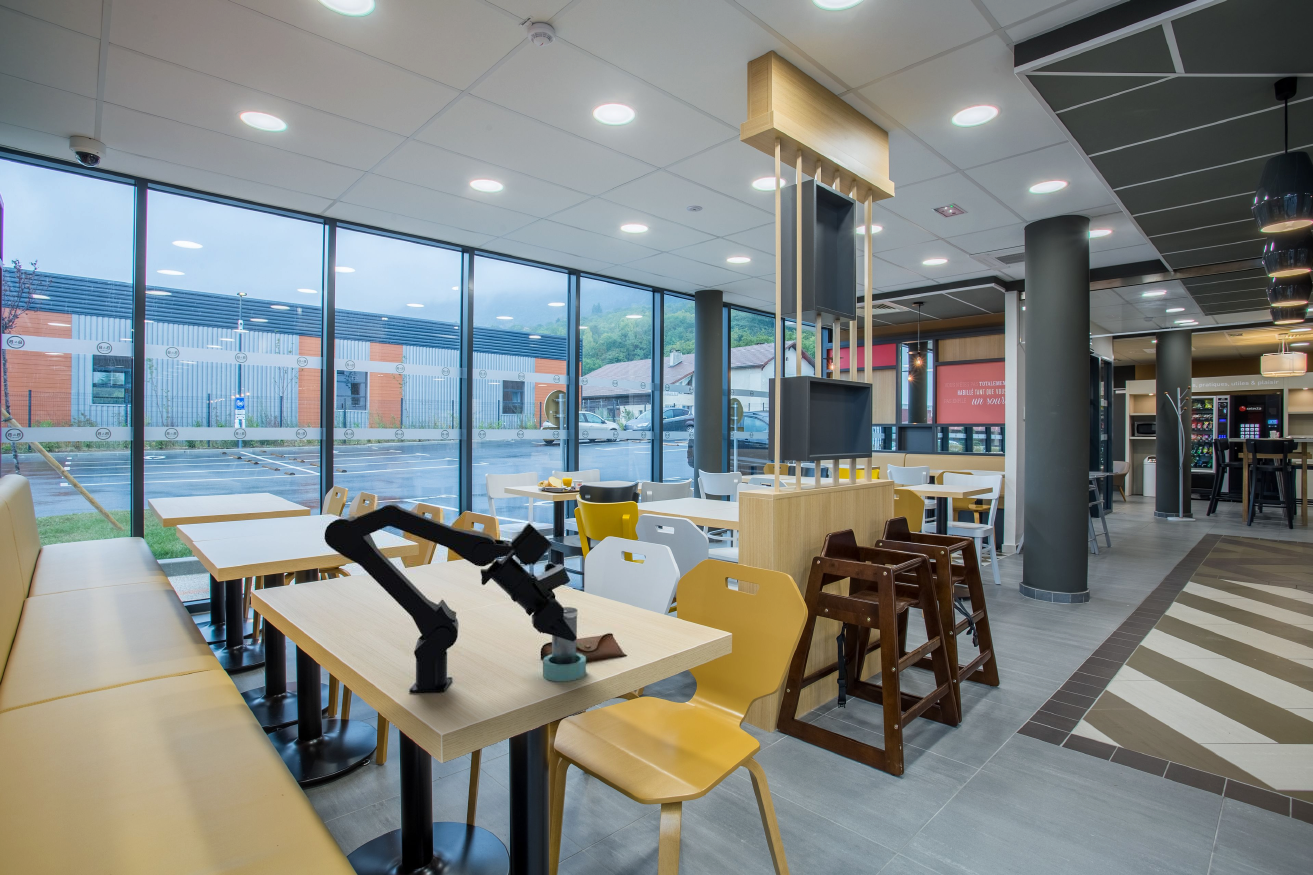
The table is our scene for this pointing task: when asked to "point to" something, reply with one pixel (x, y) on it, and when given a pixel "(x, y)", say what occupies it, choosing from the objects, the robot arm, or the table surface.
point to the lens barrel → (566, 641)
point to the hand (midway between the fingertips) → (571, 633)
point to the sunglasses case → (592, 648)
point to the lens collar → (564, 669)
